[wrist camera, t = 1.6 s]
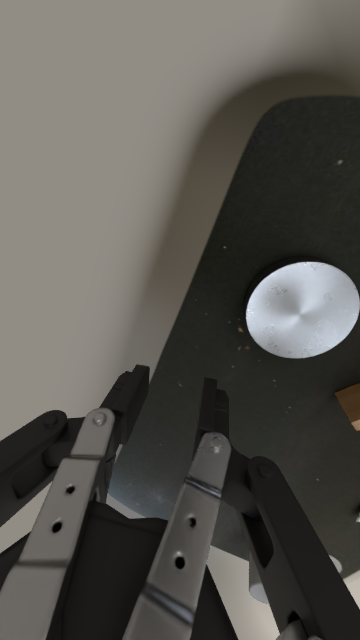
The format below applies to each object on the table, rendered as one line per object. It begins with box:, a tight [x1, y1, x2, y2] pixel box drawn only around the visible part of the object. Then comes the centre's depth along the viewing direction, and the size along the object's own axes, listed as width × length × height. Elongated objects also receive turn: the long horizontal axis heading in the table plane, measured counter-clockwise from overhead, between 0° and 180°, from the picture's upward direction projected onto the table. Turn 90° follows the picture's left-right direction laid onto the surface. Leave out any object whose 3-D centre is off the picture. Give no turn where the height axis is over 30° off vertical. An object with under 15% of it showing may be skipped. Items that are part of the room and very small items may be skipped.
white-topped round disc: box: [244, 256, 360, 358], centre depth 27 cm, size 11×11×3 cm
